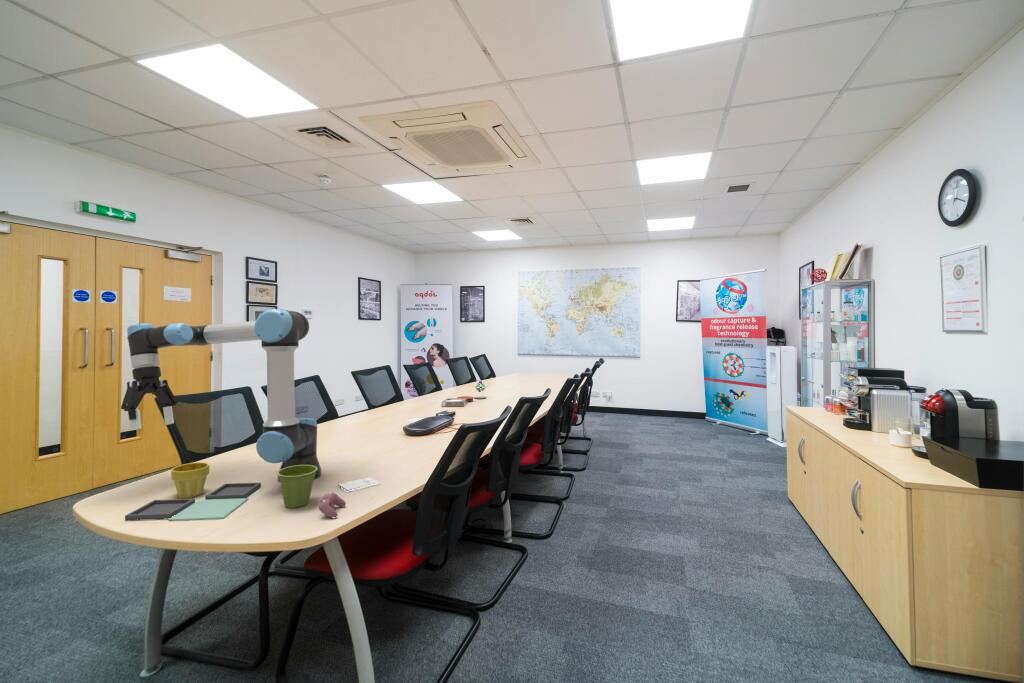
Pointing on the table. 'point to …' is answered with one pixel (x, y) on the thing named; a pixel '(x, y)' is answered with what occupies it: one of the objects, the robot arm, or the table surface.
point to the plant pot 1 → (190, 478)
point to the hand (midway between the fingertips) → (154, 426)
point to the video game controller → (330, 504)
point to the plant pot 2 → (297, 484)
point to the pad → (209, 509)
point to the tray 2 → (233, 491)
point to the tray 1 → (160, 509)
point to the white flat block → (358, 483)
